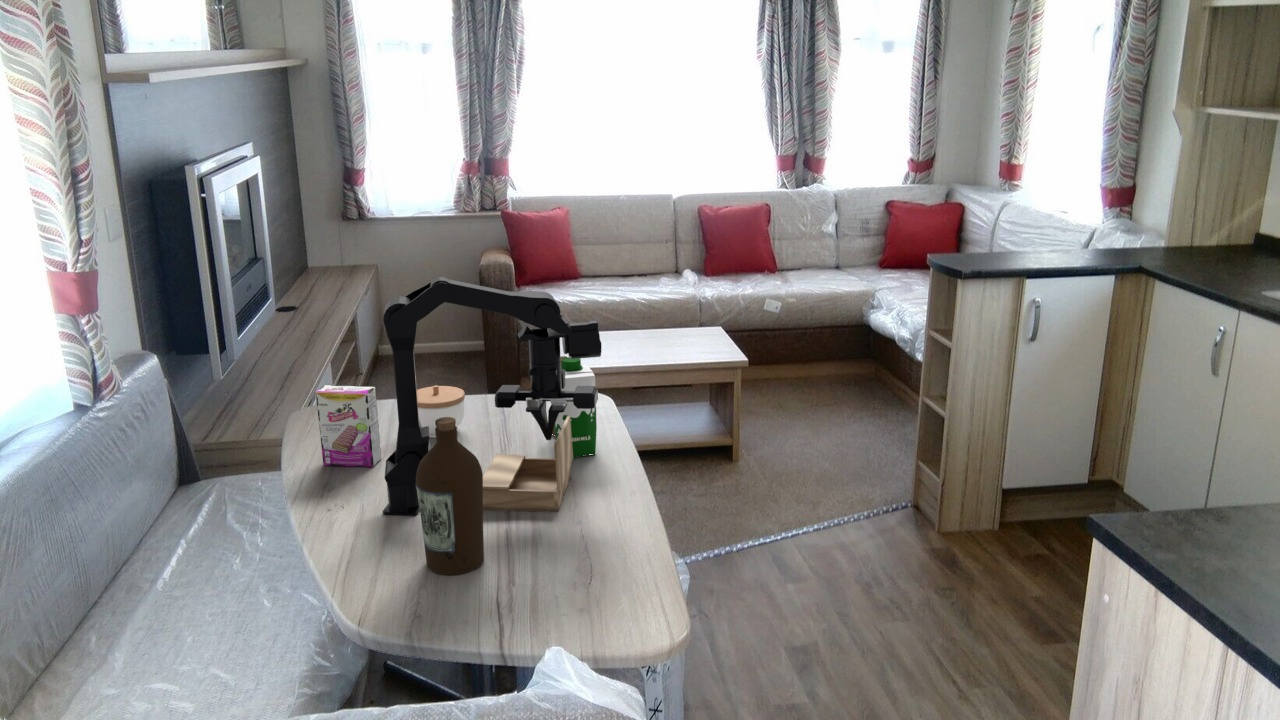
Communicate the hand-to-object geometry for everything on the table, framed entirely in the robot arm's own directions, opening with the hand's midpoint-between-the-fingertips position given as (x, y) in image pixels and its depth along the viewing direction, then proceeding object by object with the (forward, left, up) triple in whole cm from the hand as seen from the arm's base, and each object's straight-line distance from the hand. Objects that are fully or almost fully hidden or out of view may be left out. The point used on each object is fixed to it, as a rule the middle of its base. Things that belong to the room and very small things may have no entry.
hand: (548, 439), depth 181 cm
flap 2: (0, -3, -2) cm, 4 cm away
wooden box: (0, +5, -11) cm, 12 cm away
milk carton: (+22, -2, -11) cm, 25 cm away
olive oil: (-28, +11, -11) cm, 32 cm away
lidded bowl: (+32, +31, -11) cm, 46 cm away
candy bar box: (+13, +44, -11) cm, 48 cm away
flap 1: (0, +9, -7) cm, 12 cm away
